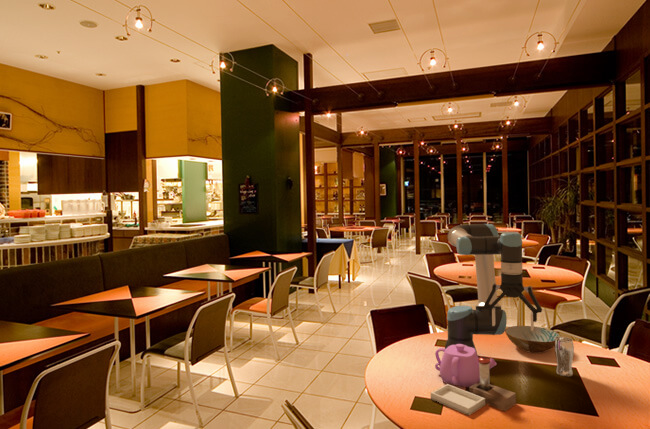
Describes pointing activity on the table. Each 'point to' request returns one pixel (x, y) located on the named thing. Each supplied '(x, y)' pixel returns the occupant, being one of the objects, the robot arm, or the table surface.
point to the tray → (458, 399)
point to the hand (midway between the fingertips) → (512, 327)
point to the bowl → (532, 338)
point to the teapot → (459, 365)
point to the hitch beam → (495, 396)
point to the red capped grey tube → (484, 373)
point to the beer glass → (564, 355)
